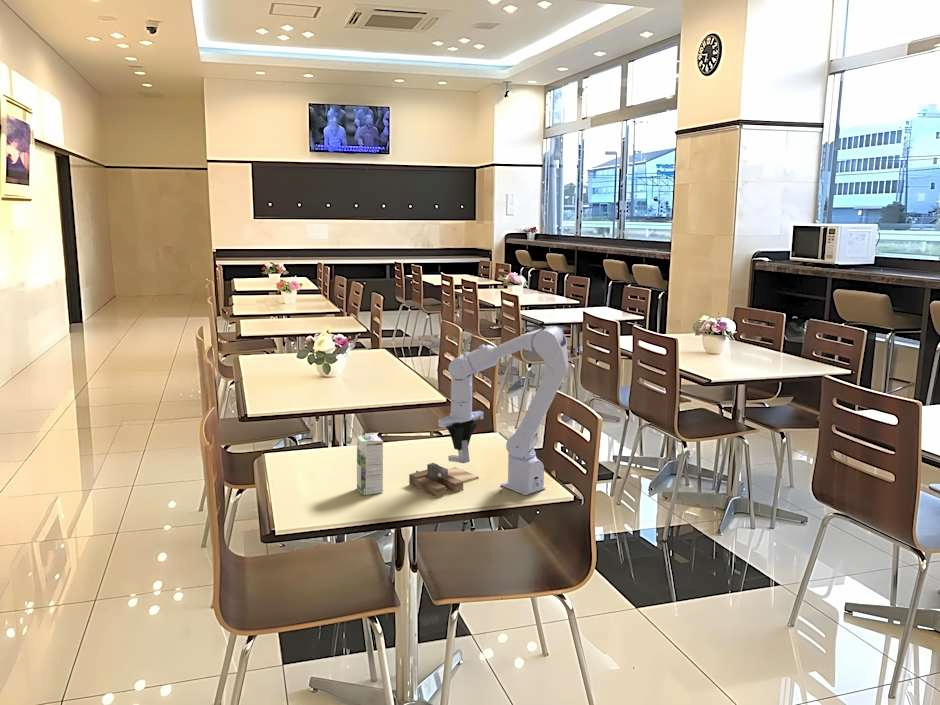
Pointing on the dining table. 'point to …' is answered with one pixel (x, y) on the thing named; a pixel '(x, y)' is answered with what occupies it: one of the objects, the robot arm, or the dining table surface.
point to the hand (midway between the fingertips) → (461, 448)
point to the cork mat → (461, 474)
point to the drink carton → (369, 464)
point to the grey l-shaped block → (461, 454)
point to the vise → (435, 481)
